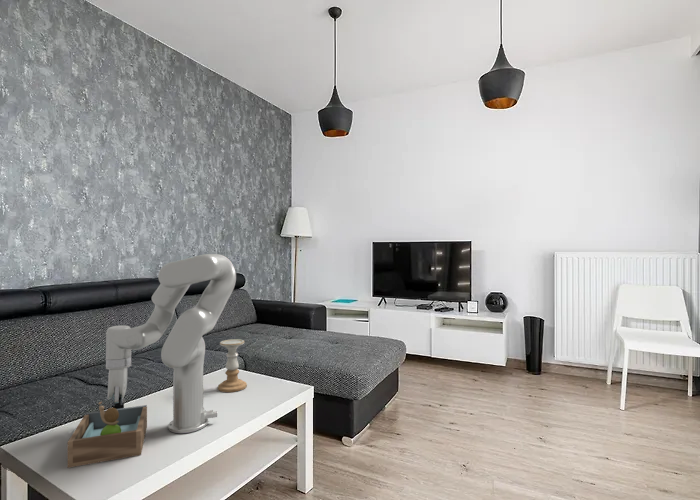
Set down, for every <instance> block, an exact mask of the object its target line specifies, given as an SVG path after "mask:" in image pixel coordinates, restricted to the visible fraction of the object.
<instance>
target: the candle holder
mask: <svg viewBox="0 0 700 500" xmlns="http://www.w3.org/2000/svg"><path fill="white" fill-rule="evenodd" d="M244 344H245V340H243V339H240V338H239V339H237V338H235V339H234V338H233V339H224V340H221V341H220V342H219V345H220V346H221V347H223V348H224V347H225V349H227V351H228V352H227V353H226V355H225V356H226V357H227V361H226V364H225V369H226V371H225V375H226V380H223V381H222V382H220V383H219V384H218V386H217V390H218V391H219V392H221V393H235V392H236V391H237V392H240V390H241V391H243V390H246V388H247V386H248V384H247V382H246V381H244V380H242V379H241V378H239V377H238V375H239V373H240V370H239V366H240V365H239V361H238V356H239V353H238V352H237V349H238V348H239V347H241V346H242V345H244Z"/></svg>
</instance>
